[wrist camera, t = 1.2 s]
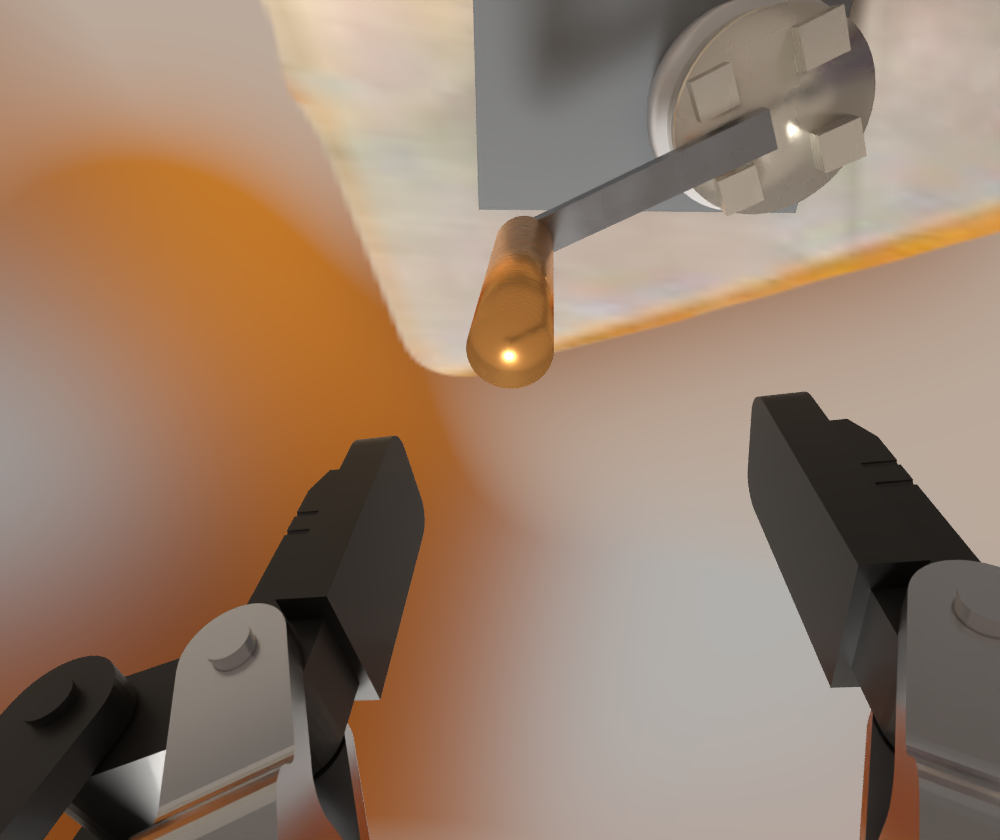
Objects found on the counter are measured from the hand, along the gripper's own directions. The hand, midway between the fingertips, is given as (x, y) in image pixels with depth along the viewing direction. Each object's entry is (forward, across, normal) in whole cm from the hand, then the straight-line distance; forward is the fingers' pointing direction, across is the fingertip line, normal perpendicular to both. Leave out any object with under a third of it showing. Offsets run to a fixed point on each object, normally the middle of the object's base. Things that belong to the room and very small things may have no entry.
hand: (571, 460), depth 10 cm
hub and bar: (+26, -6, 0) cm, 27 cm away
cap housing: (+32, -6, -3) cm, 32 cm away
